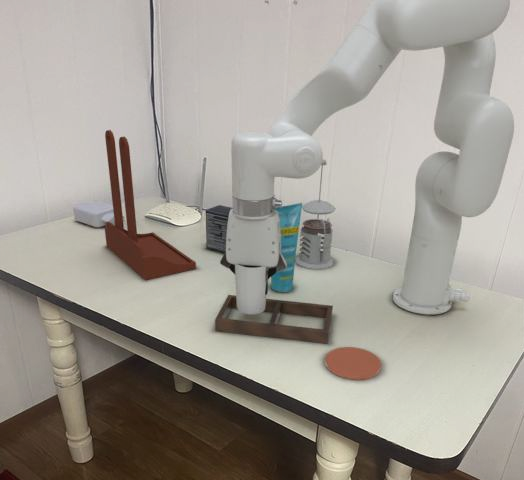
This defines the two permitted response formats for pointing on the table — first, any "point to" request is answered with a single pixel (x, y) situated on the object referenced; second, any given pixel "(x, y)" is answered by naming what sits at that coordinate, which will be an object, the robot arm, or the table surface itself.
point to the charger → (94, 213)
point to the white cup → (250, 289)
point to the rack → (273, 327)
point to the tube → (287, 245)
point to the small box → (217, 228)
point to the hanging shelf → (129, 242)
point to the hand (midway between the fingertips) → (253, 295)
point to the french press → (316, 235)
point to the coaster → (353, 363)
